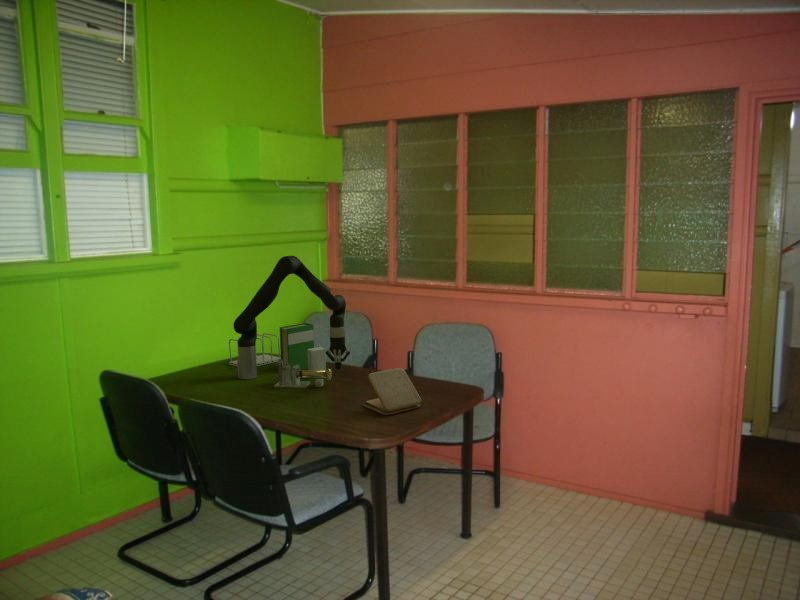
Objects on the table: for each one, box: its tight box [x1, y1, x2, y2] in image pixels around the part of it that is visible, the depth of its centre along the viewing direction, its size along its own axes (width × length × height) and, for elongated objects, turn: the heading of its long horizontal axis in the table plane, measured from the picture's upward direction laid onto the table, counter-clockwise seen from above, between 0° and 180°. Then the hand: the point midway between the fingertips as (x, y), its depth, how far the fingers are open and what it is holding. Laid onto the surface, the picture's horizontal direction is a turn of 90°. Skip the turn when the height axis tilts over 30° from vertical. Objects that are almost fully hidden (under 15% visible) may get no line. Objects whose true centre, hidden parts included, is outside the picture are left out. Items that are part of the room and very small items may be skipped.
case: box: [362, 367, 422, 416], centre depth 290 cm, size 20×21×16 cm
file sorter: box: [228, 332, 281, 368], centre depth 377 cm, size 25×17×16 cm
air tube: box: [296, 368, 333, 381], centre depth 327 cm, size 19×6×6 cm, turn 83°
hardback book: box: [279, 322, 315, 373], centre depth 363 cm, size 18×7×24 cm, turn 136°
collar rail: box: [273, 359, 324, 389], centre depth 328 cm, size 24×10×12 cm, turn 83°
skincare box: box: [307, 346, 327, 378], centre depth 346 cm, size 8×6×15 cm
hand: (338, 369), depth 325 cm, fingers closed
